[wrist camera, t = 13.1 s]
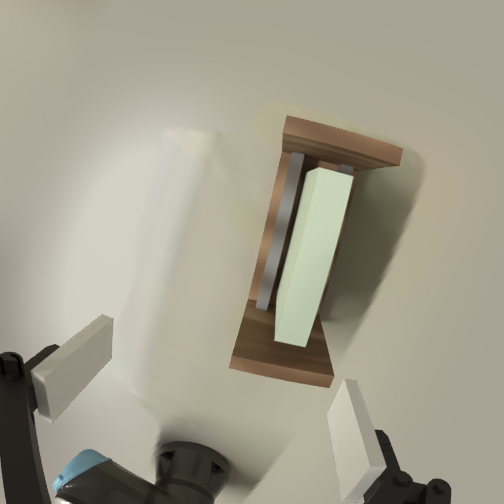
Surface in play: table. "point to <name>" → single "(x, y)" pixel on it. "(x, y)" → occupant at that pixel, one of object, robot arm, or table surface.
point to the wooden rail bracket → (277, 241)
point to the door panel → (310, 253)
